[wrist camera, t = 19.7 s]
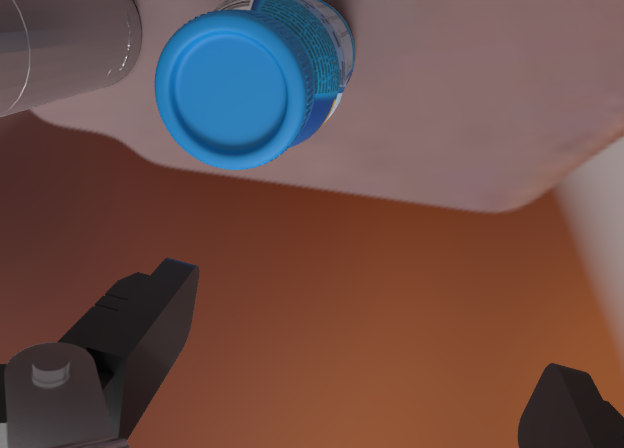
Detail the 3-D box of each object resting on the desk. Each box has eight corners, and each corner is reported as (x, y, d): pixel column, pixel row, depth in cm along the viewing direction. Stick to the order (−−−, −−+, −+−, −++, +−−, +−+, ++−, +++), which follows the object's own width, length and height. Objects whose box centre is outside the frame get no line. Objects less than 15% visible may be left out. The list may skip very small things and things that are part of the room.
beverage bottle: (373, 13, 40) (354, 23, 21) (338, 124, 43) (296, 215, 25) (261, -22, 40) (147, -42, 21) (236, 91, 43) (118, 158, 25)
